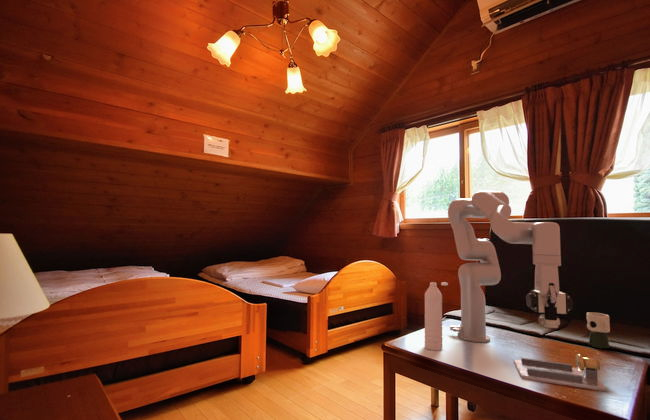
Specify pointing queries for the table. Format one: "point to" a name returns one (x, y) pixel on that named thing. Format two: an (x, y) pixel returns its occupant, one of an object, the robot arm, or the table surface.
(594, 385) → the manifold plate
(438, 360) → the table surface
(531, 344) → the table surface
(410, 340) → the table surface
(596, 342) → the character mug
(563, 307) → the pneumatic valve
